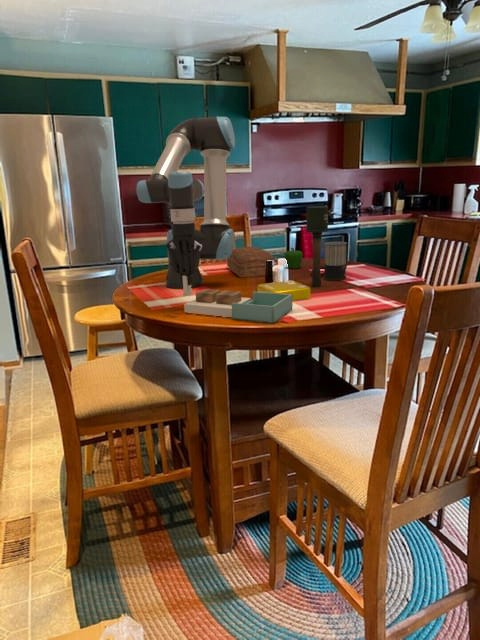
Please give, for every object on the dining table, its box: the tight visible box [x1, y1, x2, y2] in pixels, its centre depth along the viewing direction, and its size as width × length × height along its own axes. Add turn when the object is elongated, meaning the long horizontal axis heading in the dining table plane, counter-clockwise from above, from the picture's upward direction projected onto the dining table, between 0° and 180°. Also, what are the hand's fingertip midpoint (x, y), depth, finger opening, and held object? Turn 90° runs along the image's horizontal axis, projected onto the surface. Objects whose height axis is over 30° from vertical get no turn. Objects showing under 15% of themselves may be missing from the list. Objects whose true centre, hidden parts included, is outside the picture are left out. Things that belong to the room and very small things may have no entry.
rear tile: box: [195, 288, 222, 303], centre depth 155 cm, size 6×6×3 cm
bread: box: [226, 246, 275, 278], centre depth 217 cm, size 17×29×11 cm, turn 13°
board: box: [183, 296, 252, 318], centre depth 154 cm, size 17×14×3 cm
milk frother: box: [310, 241, 349, 282], centre depth 198 cm, size 14×16×15 cm
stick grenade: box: [305, 205, 330, 288], centre depth 180 cm, size 8×9×30 cm
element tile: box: [257, 280, 311, 302], centre depth 169 cm, size 15×15×5 cm
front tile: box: [216, 289, 242, 305], centre depth 151 cm, size 6×6×3 cm
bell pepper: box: [284, 246, 303, 270], centre depth 222 cm, size 8×8×10 cm
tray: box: [231, 291, 293, 324], centre depth 147 cm, size 14×16×5 cm
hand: (187, 294), depth 158 cm, fingers closed
